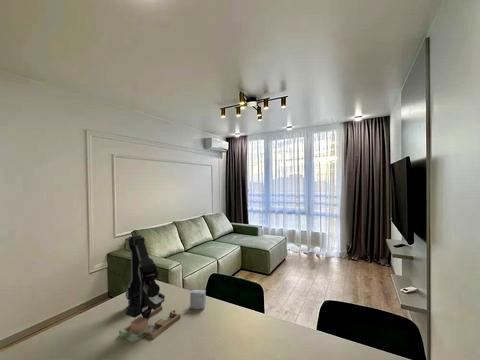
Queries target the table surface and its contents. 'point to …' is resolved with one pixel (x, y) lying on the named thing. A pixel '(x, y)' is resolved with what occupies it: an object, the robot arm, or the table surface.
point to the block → (138, 325)
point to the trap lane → (159, 325)
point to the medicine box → (198, 299)
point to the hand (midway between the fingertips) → (146, 321)
